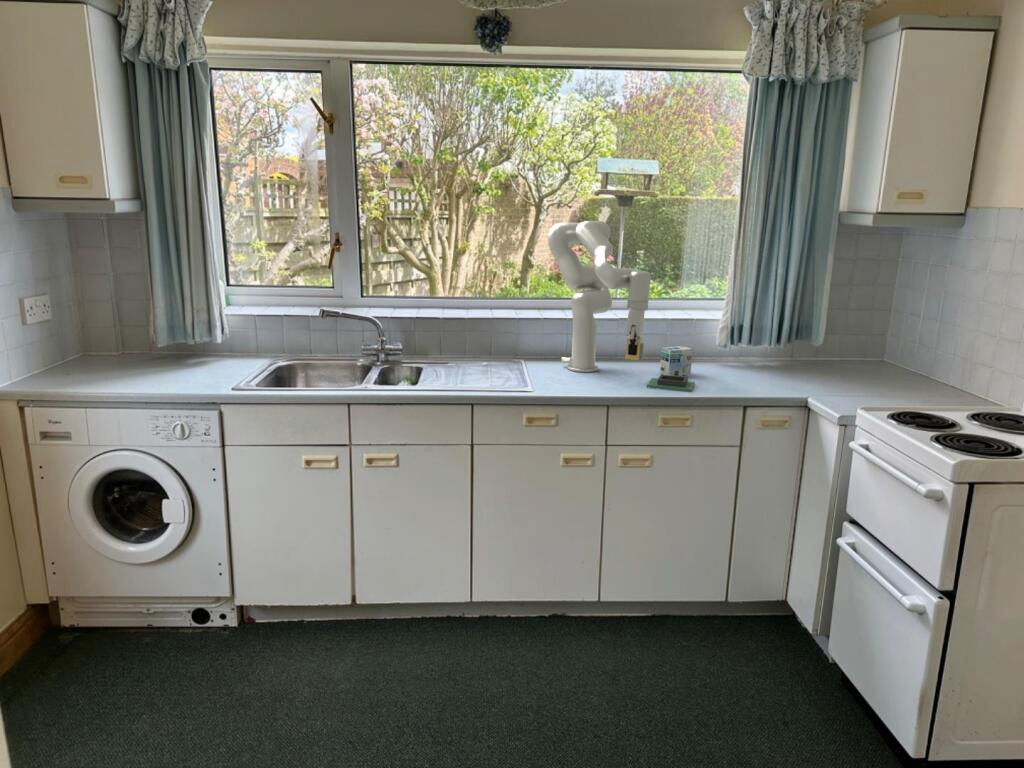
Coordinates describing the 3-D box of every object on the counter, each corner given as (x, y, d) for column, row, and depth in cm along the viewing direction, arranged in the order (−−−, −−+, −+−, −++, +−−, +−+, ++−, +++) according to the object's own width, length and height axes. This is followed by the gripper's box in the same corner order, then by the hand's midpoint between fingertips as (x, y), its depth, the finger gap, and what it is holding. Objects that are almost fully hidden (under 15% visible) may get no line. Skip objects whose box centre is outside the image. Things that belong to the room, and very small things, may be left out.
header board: (646, 387, 266) (647, 379, 266) (651, 380, 277) (652, 372, 277) (691, 392, 261) (691, 383, 260) (694, 384, 272) (695, 376, 271)
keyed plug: (625, 358, 271) (627, 337, 269) (627, 356, 275) (628, 335, 273) (641, 360, 269) (643, 339, 267) (643, 358, 273) (645, 337, 271)
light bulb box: (668, 377, 283) (670, 350, 280) (658, 373, 289) (660, 346, 286) (691, 375, 287) (693, 348, 284) (681, 371, 293) (683, 345, 290)
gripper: (631, 300, 276) (627, 348, 280) (623, 307, 260) (618, 357, 265) (651, 302, 273) (647, 350, 278) (644, 309, 258) (639, 359, 263)
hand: (633, 353), depth 272 cm, fingers closed on keyed plug, 4 cm apart
